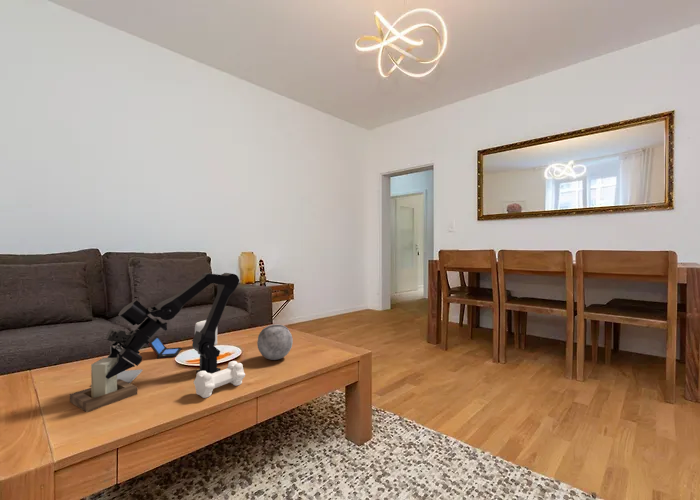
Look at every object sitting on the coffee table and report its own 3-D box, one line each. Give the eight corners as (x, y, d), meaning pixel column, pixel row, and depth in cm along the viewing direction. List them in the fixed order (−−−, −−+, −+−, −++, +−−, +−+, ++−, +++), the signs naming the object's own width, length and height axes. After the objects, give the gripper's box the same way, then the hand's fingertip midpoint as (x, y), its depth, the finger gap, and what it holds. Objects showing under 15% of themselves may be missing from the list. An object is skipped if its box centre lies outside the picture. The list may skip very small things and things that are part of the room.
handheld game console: (176, 358, 147) (175, 341, 147) (148, 360, 144) (148, 342, 144) (182, 349, 159) (182, 333, 159) (156, 351, 156) (156, 335, 156)
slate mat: (142, 370, 131) (142, 369, 131) (129, 383, 119) (129, 381, 119) (107, 373, 128) (107, 371, 128) (90, 386, 117) (90, 384, 117)
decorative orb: (290, 352, 154) (290, 319, 154) (295, 362, 140) (295, 327, 140) (256, 355, 149) (256, 321, 149) (258, 366, 136) (258, 329, 135)
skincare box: (103, 394, 111) (103, 357, 111) (118, 393, 111) (117, 357, 111) (90, 403, 105) (90, 364, 104) (105, 402, 105) (105, 363, 105)
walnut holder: (137, 394, 111) (137, 386, 111) (86, 412, 99) (86, 403, 99) (119, 386, 117) (119, 378, 117) (69, 402, 105) (69, 394, 105)
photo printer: (216, 342, 168) (216, 318, 168) (218, 345, 165) (218, 319, 165) (193, 346, 163) (193, 320, 162) (195, 348, 159) (195, 322, 159)
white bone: (205, 402, 106) (207, 378, 106) (191, 392, 112) (192, 369, 111) (245, 386, 118) (247, 364, 118) (231, 378, 124) (232, 357, 123)
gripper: (118, 315, 118) (77, 353, 110) (130, 324, 105) (85, 368, 97) (143, 333, 124) (107, 370, 116) (158, 344, 110) (118, 387, 103)
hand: (104, 373), depth 108 cm, fingers open, 9 cm apart
